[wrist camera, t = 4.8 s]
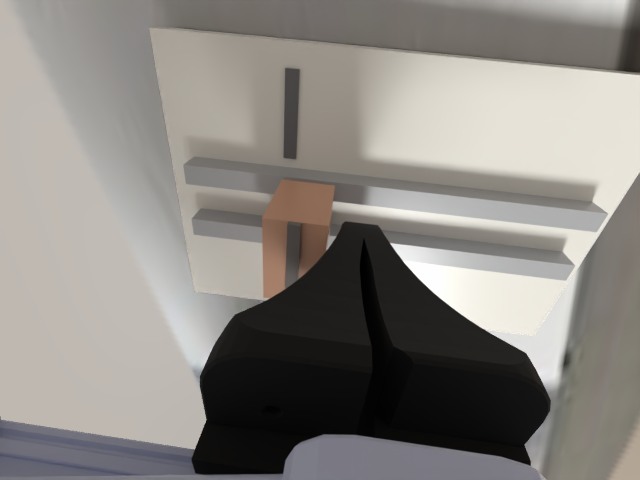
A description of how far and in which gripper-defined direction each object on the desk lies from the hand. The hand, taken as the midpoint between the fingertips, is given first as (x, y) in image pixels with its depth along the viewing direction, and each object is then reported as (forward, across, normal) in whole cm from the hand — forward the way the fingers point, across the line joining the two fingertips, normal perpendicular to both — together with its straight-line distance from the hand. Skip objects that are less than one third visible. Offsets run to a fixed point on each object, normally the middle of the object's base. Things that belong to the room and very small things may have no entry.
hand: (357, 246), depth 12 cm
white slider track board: (+5, -1, 0) cm, 5 cm away
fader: (+2, +2, 0) cm, 3 cm away
